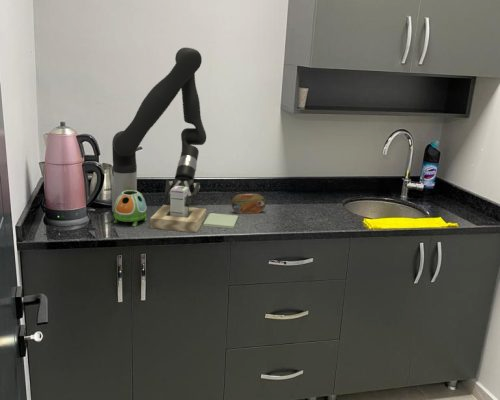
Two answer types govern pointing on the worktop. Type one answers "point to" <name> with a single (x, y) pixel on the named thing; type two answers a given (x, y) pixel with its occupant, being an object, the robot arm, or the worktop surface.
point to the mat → (221, 220)
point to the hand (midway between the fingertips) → (178, 205)
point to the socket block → (178, 220)
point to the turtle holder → (130, 207)
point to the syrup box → (179, 201)
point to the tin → (248, 203)
